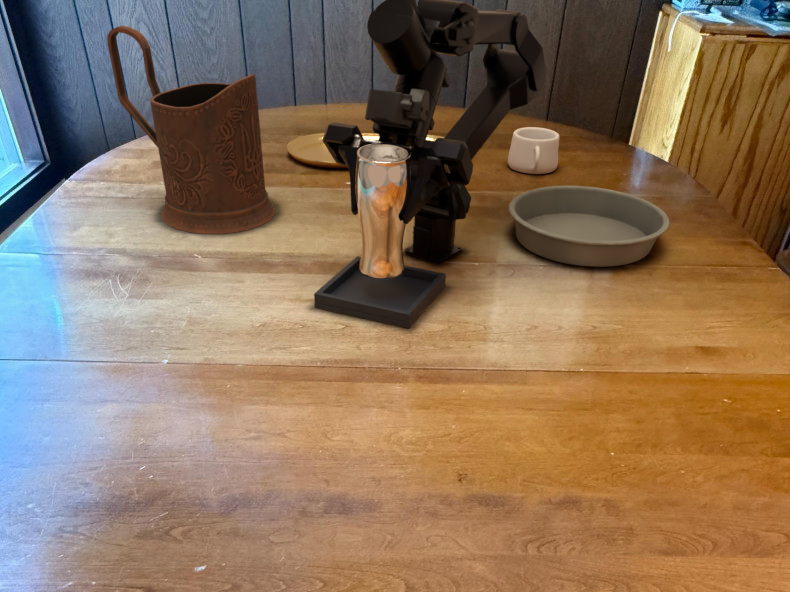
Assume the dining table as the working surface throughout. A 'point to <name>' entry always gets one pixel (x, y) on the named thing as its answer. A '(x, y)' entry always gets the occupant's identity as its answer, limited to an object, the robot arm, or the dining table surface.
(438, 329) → the dining table surface
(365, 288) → the serving tray
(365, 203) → the beer glass
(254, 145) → the cup holder
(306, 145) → the serving platter
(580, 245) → the cake pan
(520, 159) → the mug
